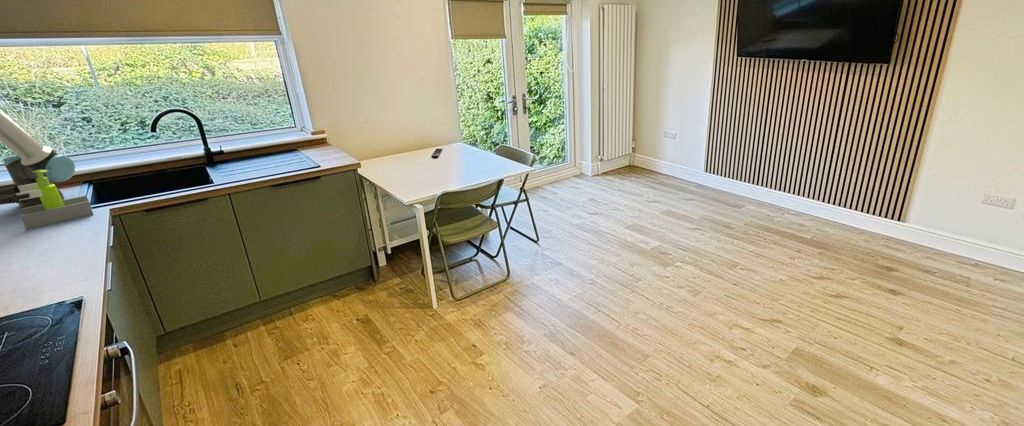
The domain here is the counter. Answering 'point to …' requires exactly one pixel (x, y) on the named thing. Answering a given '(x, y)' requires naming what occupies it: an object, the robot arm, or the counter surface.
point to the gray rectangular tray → (56, 213)
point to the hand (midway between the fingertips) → (41, 188)
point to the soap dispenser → (48, 192)
